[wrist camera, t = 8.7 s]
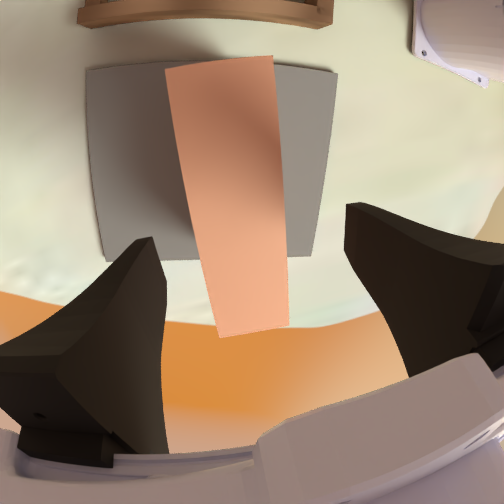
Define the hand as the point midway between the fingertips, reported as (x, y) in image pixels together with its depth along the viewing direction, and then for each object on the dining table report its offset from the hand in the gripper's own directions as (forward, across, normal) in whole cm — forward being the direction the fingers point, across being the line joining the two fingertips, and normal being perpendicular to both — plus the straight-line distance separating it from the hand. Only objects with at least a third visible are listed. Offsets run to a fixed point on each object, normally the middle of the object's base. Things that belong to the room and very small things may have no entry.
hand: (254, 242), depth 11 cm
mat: (+10, +1, 0) cm, 10 cm away
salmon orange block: (+10, 0, 0) cm, 10 cm away
